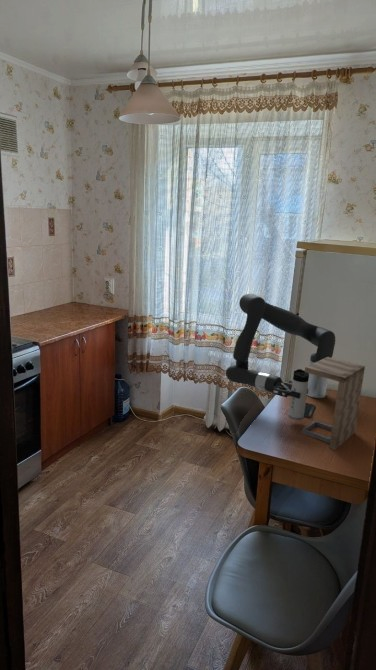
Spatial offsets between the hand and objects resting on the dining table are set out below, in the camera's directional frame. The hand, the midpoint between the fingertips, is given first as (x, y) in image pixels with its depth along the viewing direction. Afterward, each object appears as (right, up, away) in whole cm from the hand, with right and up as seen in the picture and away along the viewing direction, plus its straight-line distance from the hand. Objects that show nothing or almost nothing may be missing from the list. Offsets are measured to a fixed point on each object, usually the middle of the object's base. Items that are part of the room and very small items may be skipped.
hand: (303, 393), depth 187 cm
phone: (+5, -10, +19) cm, 22 cm away
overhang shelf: (+8, -16, -4) cm, 18 cm away
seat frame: (+6, -15, -3) cm, 17 cm away
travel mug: (-2, -10, +4) cm, 11 cm away
